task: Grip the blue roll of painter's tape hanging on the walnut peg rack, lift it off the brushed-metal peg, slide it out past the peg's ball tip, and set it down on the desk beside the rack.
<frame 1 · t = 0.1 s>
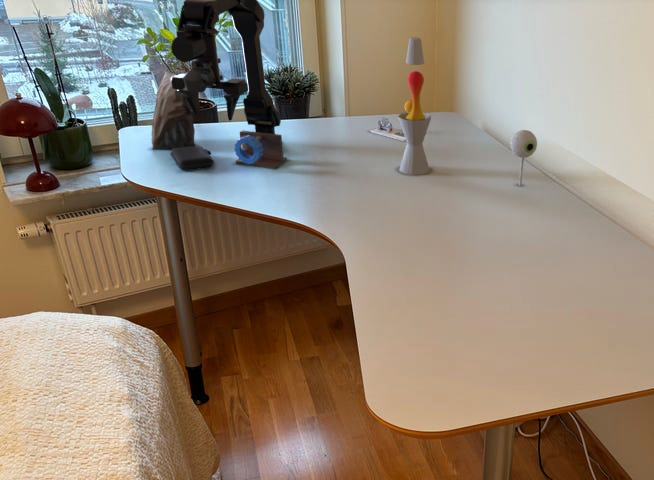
hand: (214, 118, 193), 15 cm above the table, tool pointing down, fingers open, 9 cm apart
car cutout: (394, 135, 240), on the table
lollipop: (520, 186, 203), on the table
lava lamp: (414, 170, 210), on the table
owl: (174, 146, 220), on the table
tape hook: (263, 161, 211), on the table
tape roll: (248, 149, 201), point 5 cm above the table, touching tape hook
carrying case: (194, 163, 207), on the table
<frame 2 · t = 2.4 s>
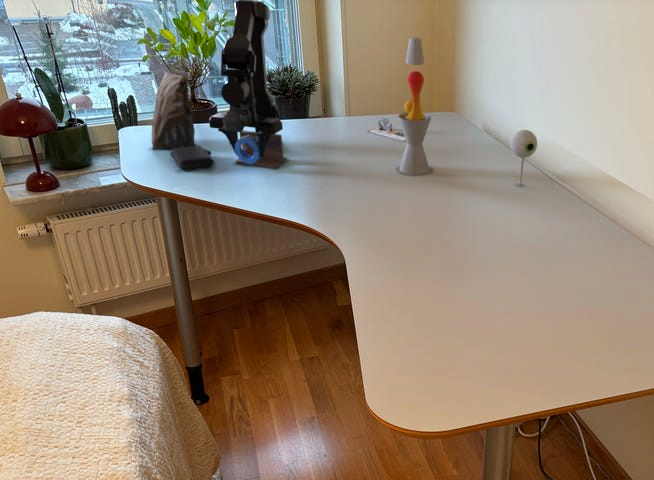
hand: (249, 155, 202), 4 cm above the table, tool pointing down, fingers closed on tape roll, 7 cm apart
tape roll: (248, 149, 201), point 5 cm above the table, touching gripper, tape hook
everything else where it was.
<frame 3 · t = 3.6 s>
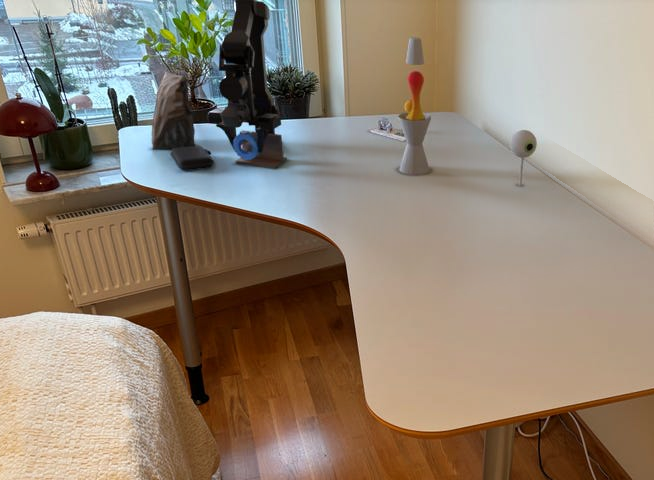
hand: (247, 151, 201), 5 cm above the table, tool pointing down, fingers closed on tape roll, 7 cm apart
tape roll: (247, 145, 200), point 7 cm above the table, touching gripper
everything else where it was.
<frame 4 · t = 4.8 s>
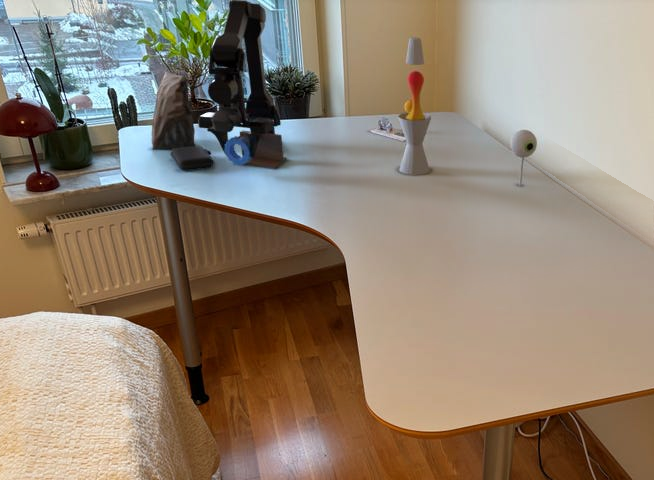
hand: (239, 155, 197), 5 cm above the table, tool pointing down, fingers closed on tape roll, 7 cm apart
tape roll: (239, 150, 196), point 7 cm above the table, touching gripper
everything else where it was.
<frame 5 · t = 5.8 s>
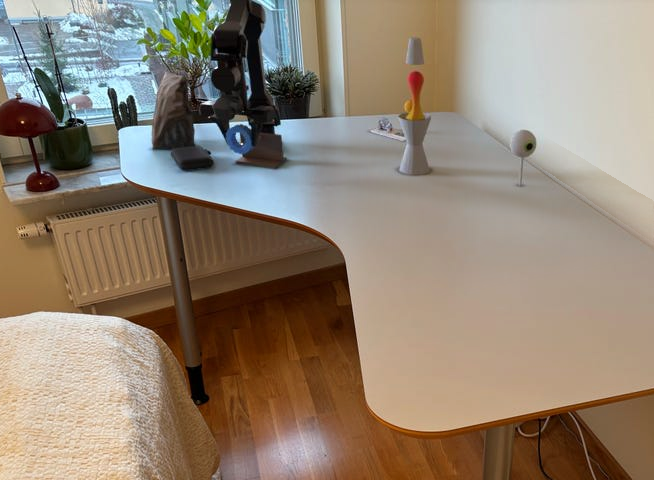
hand: (241, 144, 194), 9 cm above the table, tool pointing down, fingers closed on tape roll, 7 cm apart
tape roll: (240, 139, 193), point 10 cm above the table, touching gripper
everything else where it was.
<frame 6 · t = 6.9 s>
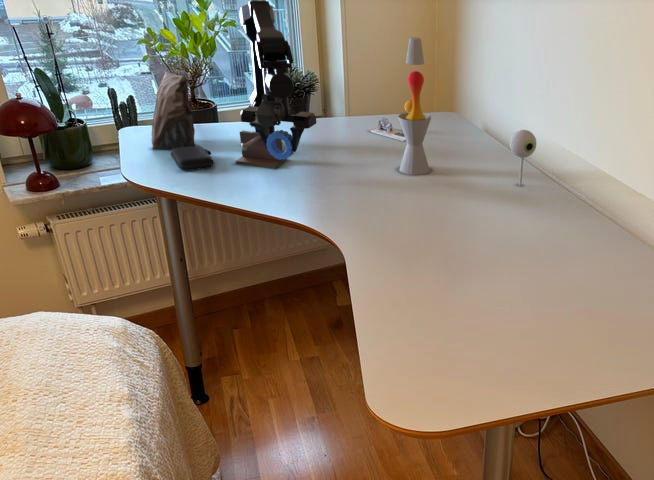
hand: (281, 150, 195), 8 cm above the table, tool pointing down, fingers closed on tape roll, 7 cm apart
tape roll: (280, 144, 194), point 9 cm above the table, touching gripper
everything else where it was.
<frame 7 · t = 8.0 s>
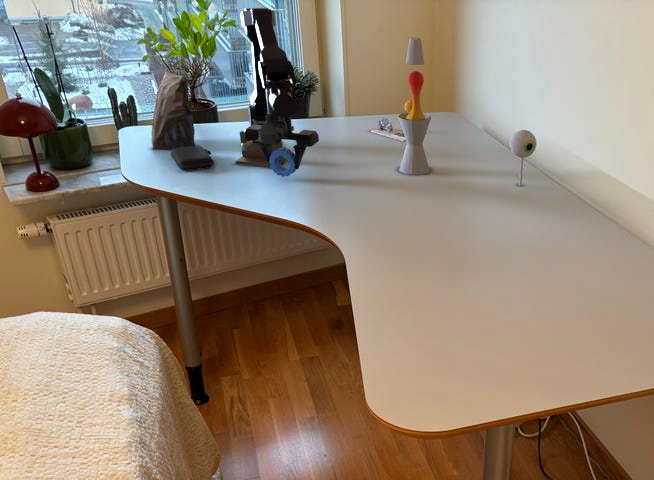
hand: (284, 167, 197), 3 cm above the table, tool pointing down, fingers closed on tape roll, 7 cm apart
tape roll: (283, 162, 197), point 5 cm above the table, touching gripper
everything else where it was.
when the fingers open (2 cm above the table, at t = 8.9 s): tape roll stays where it is, point 4 cm above the table.
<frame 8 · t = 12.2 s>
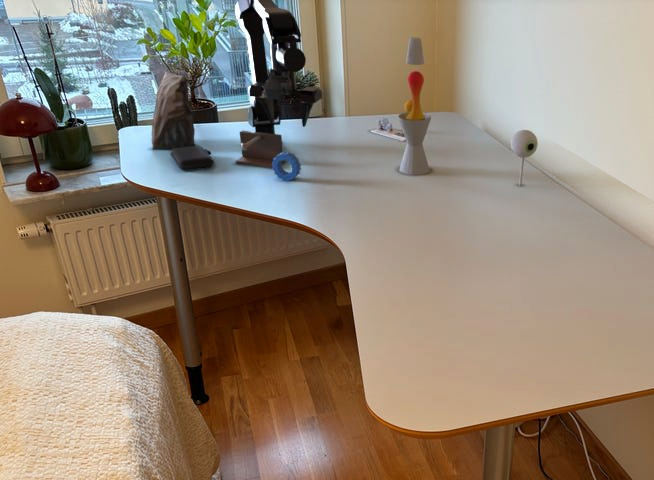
hand: (288, 124, 200), 12 cm above the table, tool pointing down, fingers open, 9 cm apart
tape roll: (286, 166, 197), point 4 cm above the table, tilted 11°
everything else where it was.
at the end: tape roll inside the target area (0.7 cm from its centre), point 3.5 cm above the table; tape roll touching table; the gripper is holding nothing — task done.
